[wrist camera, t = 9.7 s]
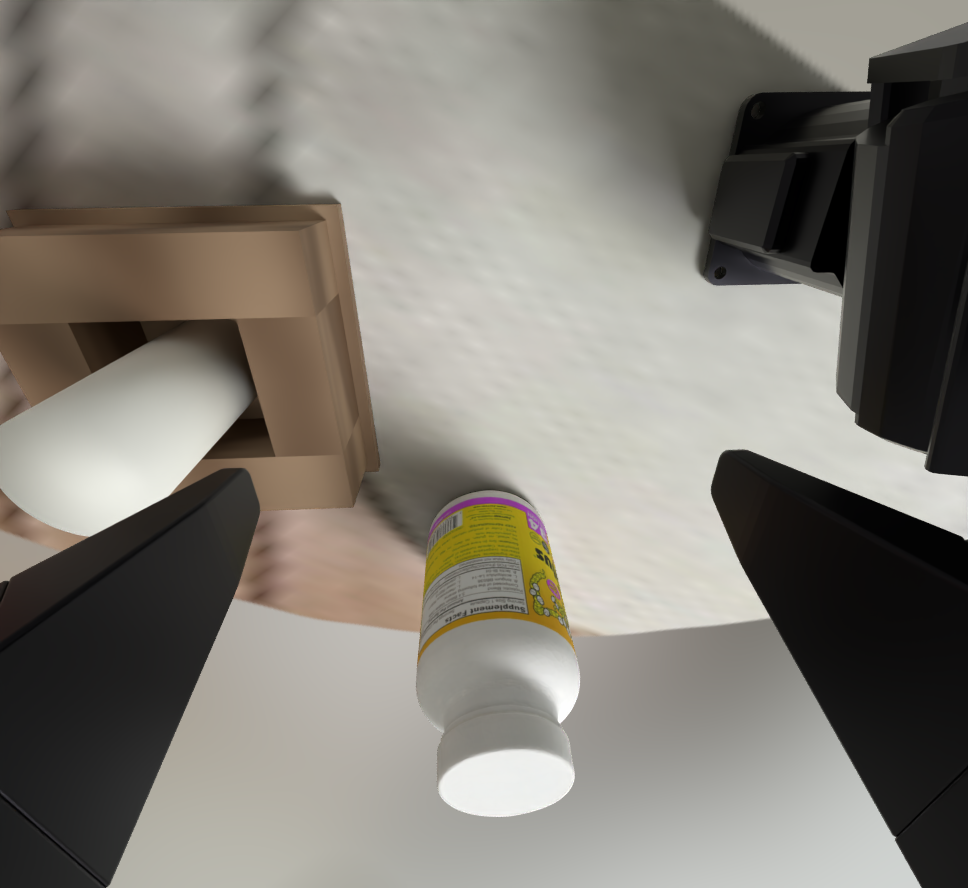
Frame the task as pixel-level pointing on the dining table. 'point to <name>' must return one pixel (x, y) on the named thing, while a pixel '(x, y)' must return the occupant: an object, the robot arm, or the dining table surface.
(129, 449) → the peg
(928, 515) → the dining table surface
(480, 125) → the dining table surface
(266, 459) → the socket
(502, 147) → the dining table surface
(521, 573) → the supplement bottle
